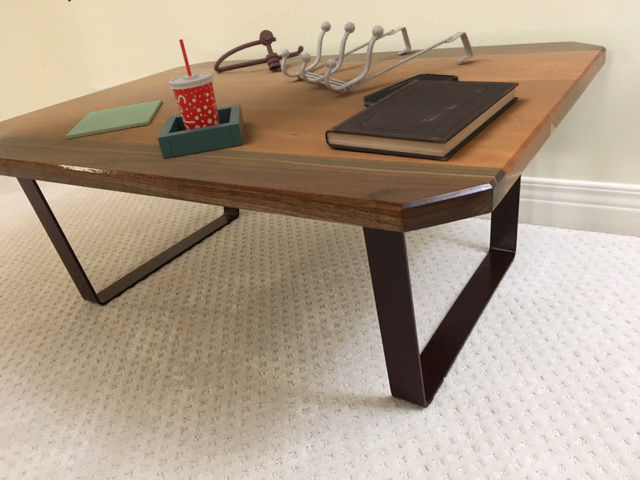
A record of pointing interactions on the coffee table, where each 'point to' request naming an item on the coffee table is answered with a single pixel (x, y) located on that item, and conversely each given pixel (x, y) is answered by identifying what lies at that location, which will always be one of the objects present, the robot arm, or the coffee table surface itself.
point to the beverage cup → (195, 97)
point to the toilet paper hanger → (271, 59)
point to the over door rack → (377, 35)
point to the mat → (115, 119)
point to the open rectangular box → (202, 134)
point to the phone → (387, 91)
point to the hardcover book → (424, 118)
